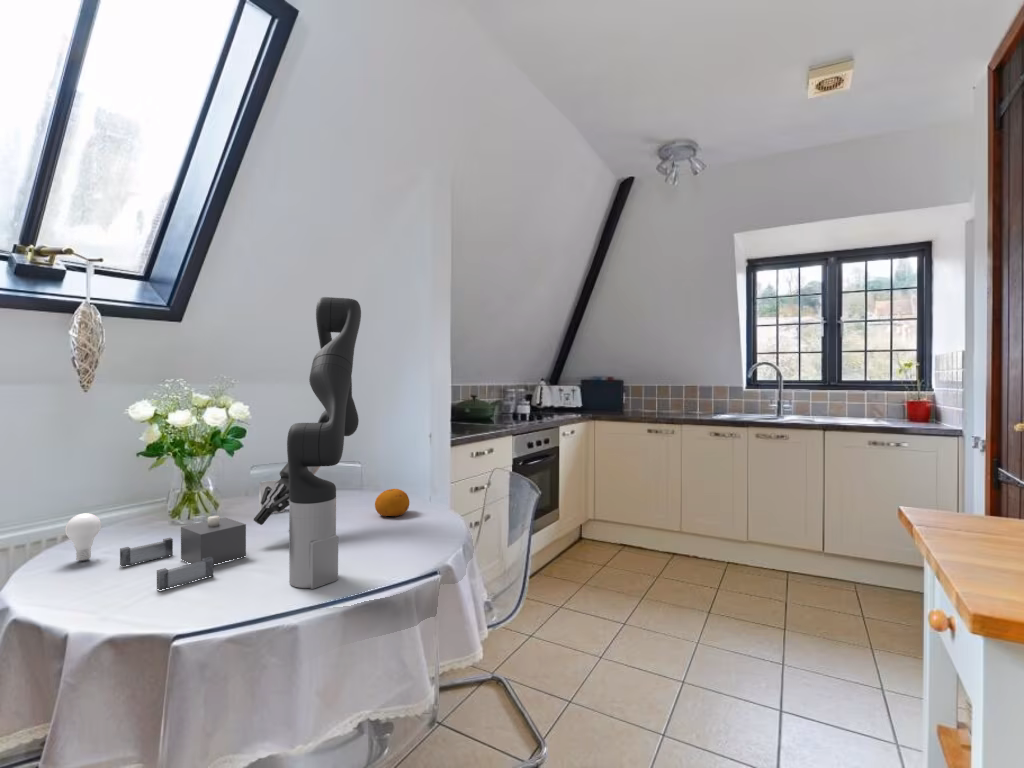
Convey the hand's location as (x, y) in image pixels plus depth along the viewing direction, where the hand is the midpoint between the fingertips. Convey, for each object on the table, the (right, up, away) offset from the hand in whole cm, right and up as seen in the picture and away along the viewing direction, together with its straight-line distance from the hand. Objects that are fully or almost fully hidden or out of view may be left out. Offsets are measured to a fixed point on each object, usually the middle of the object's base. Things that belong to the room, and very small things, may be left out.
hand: (257, 522), depth 129 cm
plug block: (-6, -6, -8) cm, 12 cm away
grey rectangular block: (-12, -6, +34) cm, 36 cm away
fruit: (+27, -6, +31) cm, 41 cm away
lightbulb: (-35, -6, -10) cm, 37 cm away
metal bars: (-12, -6, -16) cm, 21 cm away
